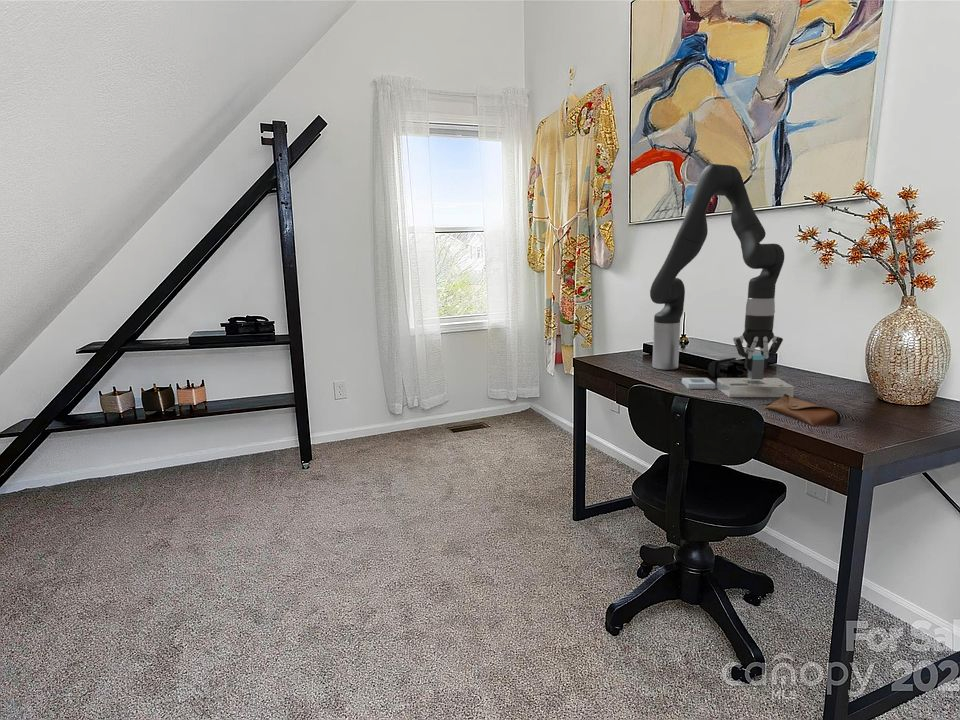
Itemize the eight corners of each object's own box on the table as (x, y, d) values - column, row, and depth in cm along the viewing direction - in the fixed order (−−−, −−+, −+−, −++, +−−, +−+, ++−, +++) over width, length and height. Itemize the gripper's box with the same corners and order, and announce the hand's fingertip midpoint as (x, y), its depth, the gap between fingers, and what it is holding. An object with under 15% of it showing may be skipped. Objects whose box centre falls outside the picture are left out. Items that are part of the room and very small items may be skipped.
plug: (747, 376, 164) (749, 354, 163) (758, 376, 164) (760, 354, 163) (751, 379, 161) (753, 356, 160) (762, 379, 161) (764, 356, 160)
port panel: (728, 400, 160) (729, 385, 159) (716, 390, 170) (717, 377, 169) (793, 400, 158) (794, 385, 157) (776, 390, 168) (777, 376, 168)
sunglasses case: (759, 407, 152) (771, 386, 151) (776, 417, 154) (787, 396, 154) (814, 427, 135) (828, 403, 134) (832, 437, 137) (845, 414, 137)
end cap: (727, 375, 190) (728, 356, 188) (744, 379, 184) (746, 359, 182) (707, 378, 185) (708, 359, 184) (724, 383, 179) (725, 363, 178)
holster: (681, 385, 177) (681, 377, 177) (706, 385, 177) (707, 377, 176) (688, 391, 170) (688, 383, 169) (714, 391, 169) (715, 383, 168)
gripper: (779, 311, 162) (774, 367, 165) (730, 312, 163) (726, 367, 167) (790, 314, 155) (785, 373, 158) (739, 315, 156) (735, 373, 159)
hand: (755, 370), depth 162 cm, fingers closed on plug, 3 cm apart
